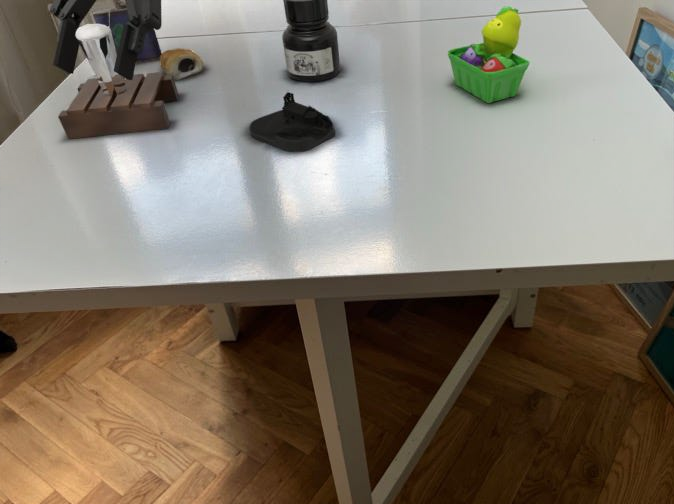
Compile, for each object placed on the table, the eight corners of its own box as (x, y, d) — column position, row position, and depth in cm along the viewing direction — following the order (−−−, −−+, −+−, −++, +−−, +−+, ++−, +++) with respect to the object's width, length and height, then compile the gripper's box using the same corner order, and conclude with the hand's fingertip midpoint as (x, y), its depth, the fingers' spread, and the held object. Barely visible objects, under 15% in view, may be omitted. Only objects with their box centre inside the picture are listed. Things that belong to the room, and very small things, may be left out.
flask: (110, 67, 100) (87, 2, 93) (111, 61, 102) (88, -2, 95) (163, 59, 102) (144, -5, 95) (162, 54, 104) (143, -9, 97)
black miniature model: (239, 132, 78) (231, 98, 75) (291, 107, 83) (285, 74, 80) (297, 156, 72) (291, 120, 68) (349, 128, 77) (345, 93, 74)
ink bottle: (277, 80, 92) (263, 2, 84) (298, 61, 98) (287, -14, 90) (331, 85, 89) (323, 4, 81) (350, 65, 95) (343, -12, 87)
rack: (68, 139, 79) (55, 112, 76) (89, 104, 88) (78, 79, 85) (168, 128, 80) (159, 101, 77) (179, 95, 89) (171, 70, 86)
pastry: (153, 67, 99) (146, 45, 96) (189, 58, 102) (183, 36, 99) (172, 82, 93) (165, 59, 91) (210, 72, 96) (204, 49, 93)
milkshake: (142, 87, 81) (117, 14, 75) (108, 99, 78) (79, 25, 72) (126, 80, 84) (101, 9, 77) (93, 92, 81) (63, 19, 74)
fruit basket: (443, 83, 88) (445, 6, 80) (489, 71, 90) (496, -4, 83) (485, 109, 80) (492, 26, 72) (534, 95, 83) (546, 14, 75)
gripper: (42, -104, 76) (6, 53, 76) (177, -105, 70) (139, 66, 70) (84, -66, 84) (52, 77, 83) (211, -64, 77) (177, 91, 77)
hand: (92, 72), depth 76 cm, fingers open, 10 cm apart
